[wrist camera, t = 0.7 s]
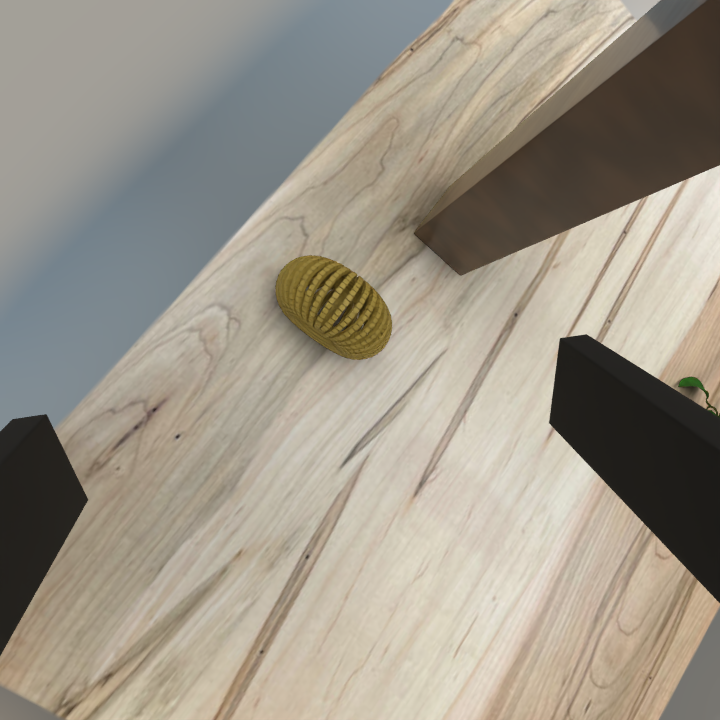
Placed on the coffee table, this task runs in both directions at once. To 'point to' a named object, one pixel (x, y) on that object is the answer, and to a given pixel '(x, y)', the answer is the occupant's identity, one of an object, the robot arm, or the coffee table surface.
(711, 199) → the coffee table surface
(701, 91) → the stand post
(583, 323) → the coffee table surface
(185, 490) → the coffee table surface
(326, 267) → the sculpture
